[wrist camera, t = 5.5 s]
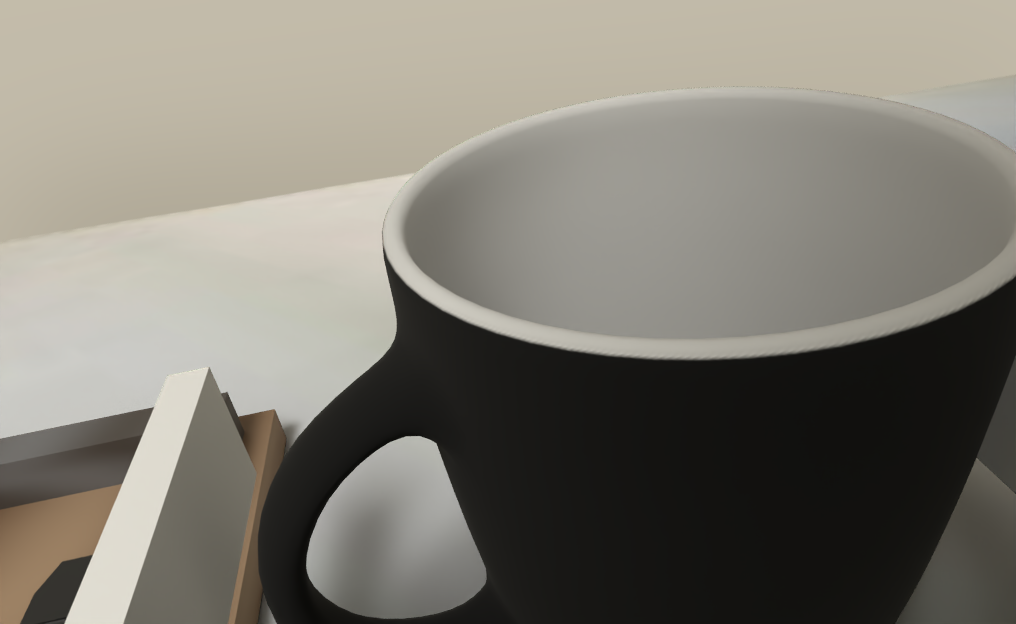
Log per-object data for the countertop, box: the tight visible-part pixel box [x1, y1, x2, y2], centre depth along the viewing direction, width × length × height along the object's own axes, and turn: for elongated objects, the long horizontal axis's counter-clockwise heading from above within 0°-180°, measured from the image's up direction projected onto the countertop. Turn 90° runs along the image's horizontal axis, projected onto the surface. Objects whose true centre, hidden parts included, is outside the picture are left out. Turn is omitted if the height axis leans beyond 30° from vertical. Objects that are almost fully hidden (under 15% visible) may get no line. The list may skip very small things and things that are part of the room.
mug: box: [258, 87, 1016, 624], centre depth 13 cm, size 12×9×10 cm
